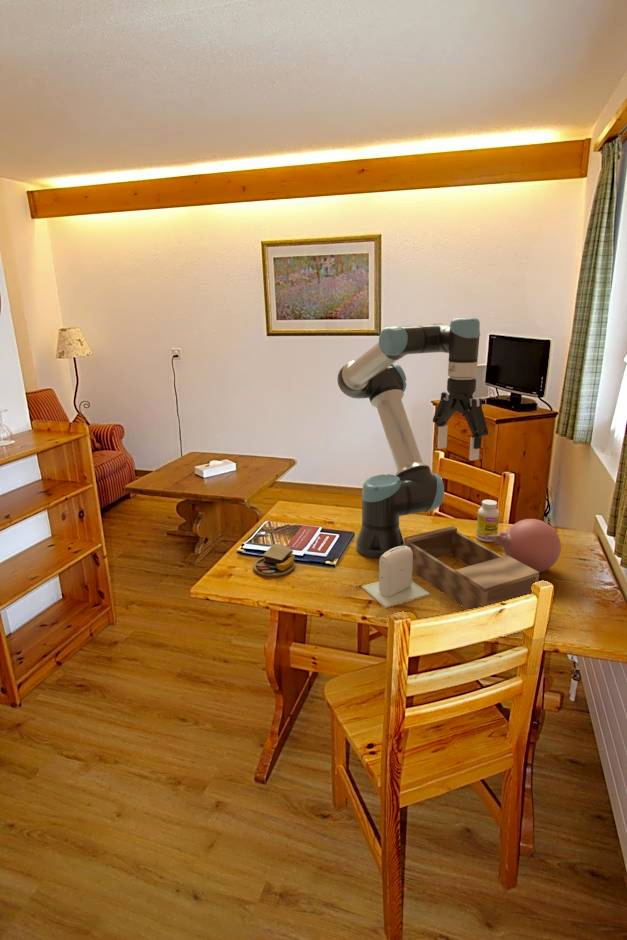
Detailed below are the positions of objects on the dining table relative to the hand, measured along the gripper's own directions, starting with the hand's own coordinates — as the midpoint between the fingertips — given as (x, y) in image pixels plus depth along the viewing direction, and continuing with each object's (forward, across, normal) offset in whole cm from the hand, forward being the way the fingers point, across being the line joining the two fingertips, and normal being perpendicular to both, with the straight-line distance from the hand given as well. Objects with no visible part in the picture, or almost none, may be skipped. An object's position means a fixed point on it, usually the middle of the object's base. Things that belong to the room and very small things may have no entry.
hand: (457, 453), depth 157 cm
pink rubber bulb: (+35, +11, +17) cm, 40 cm away
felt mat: (+35, +5, -23) cm, 42 cm away
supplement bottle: (+35, -10, +23) cm, 43 cm away
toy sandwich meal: (+35, -24, -47) cm, 63 cm away
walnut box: (+35, +10, -3) cm, 36 cm away
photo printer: (+34, +5, -23) cm, 42 cm away
